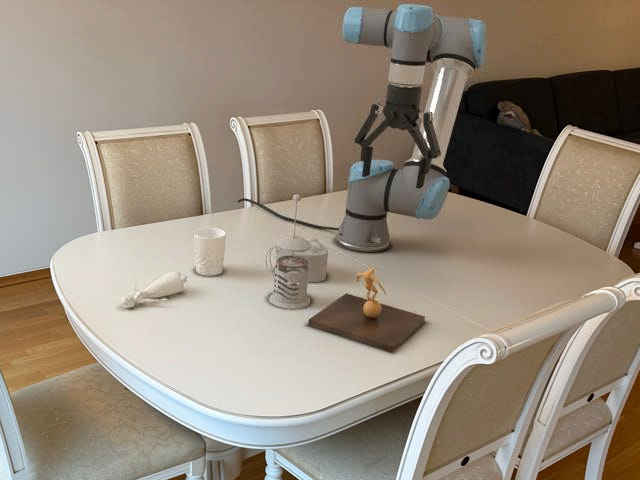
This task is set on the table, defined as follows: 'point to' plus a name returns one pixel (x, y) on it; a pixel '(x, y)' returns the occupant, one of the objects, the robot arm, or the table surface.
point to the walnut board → (367, 323)
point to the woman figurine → (156, 290)
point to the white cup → (209, 250)
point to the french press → (289, 293)
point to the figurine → (371, 306)
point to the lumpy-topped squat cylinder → (310, 260)
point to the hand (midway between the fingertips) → (392, 181)
